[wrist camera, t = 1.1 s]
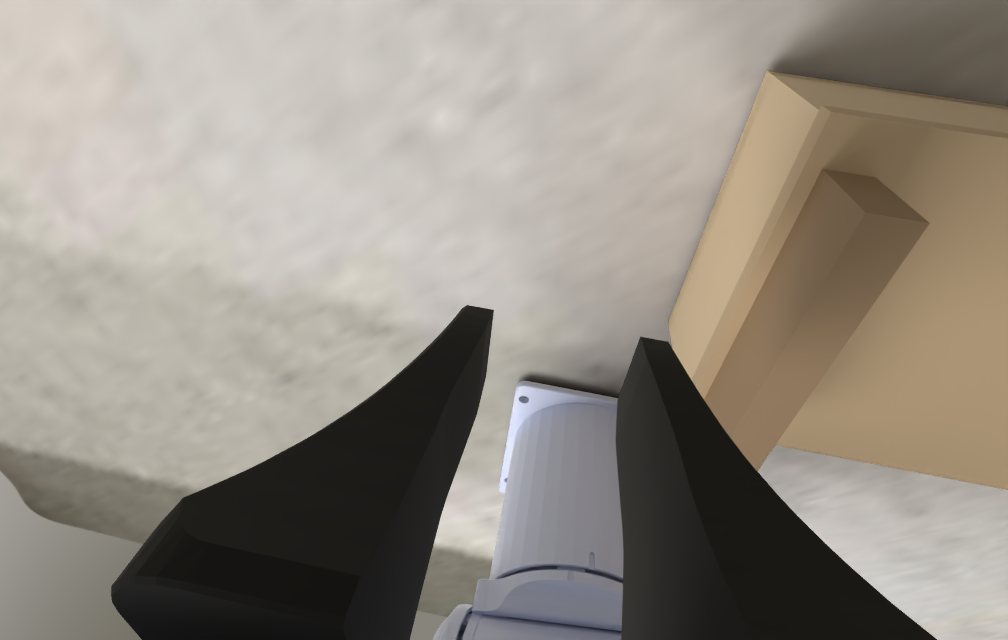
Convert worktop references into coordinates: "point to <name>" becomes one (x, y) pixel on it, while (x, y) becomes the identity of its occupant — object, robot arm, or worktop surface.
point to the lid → (875, 304)
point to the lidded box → (762, 174)
